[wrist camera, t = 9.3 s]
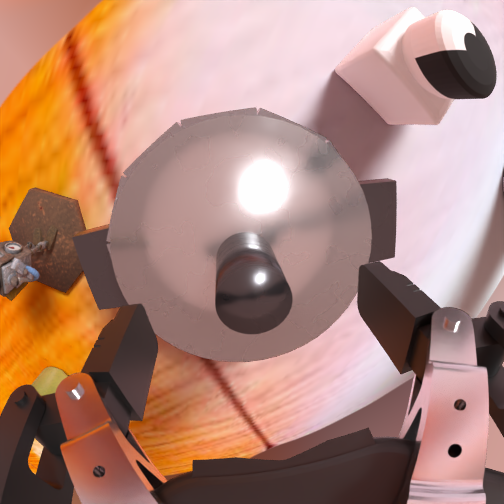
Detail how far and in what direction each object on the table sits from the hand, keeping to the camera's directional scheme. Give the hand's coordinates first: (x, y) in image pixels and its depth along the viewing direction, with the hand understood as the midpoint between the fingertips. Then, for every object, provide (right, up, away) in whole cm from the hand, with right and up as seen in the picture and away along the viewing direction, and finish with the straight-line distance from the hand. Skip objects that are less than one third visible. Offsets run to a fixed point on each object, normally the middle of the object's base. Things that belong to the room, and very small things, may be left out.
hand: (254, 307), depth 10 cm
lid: (-1, +2, +5) cm, 5 cm away
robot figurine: (-19, +3, +12) cm, 23 cm away
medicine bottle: (+12, +18, +10) cm, 24 cm away
